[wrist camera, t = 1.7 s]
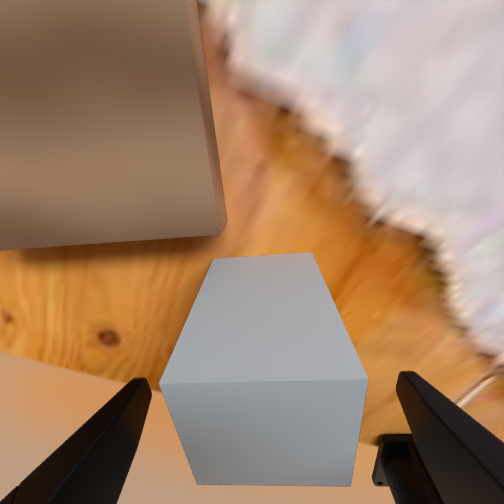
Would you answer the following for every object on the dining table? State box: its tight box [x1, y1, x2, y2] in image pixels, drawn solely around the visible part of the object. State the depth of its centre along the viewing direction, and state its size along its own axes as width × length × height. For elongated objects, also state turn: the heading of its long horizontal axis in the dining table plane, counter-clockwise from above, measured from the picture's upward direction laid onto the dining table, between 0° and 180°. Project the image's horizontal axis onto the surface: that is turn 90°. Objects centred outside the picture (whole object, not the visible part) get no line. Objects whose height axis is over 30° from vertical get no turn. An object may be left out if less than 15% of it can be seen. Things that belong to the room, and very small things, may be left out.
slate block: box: [159, 252, 368, 487], centre depth 10 cm, size 5×5×7 cm
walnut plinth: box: [0, 0, 227, 251], centre depth 8 cm, size 11×11×2 cm
